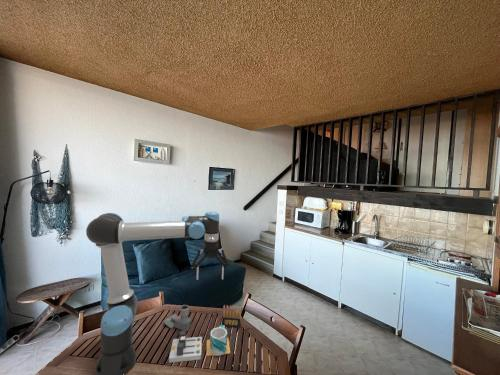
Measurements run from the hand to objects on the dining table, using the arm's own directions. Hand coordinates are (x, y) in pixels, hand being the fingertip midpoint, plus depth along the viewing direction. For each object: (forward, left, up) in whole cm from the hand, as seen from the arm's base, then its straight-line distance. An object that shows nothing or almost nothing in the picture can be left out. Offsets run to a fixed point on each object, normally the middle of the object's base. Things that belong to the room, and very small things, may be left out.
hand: (210, 278), depth 123 cm
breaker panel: (-10, -15, -28) cm, 33 cm away
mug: (+5, -15, -27) cm, 32 cm away
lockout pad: (+5, -15, -28) cm, 32 cm away
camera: (-16, +4, -28) cm, 33 cm away
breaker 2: (-12, -15, -25) cm, 32 cm away
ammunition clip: (+13, 0, -28) cm, 31 cm away
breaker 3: (-13, -19, -25) cm, 34 cm away
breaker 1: (-13, -11, -25) cm, 31 cm away
